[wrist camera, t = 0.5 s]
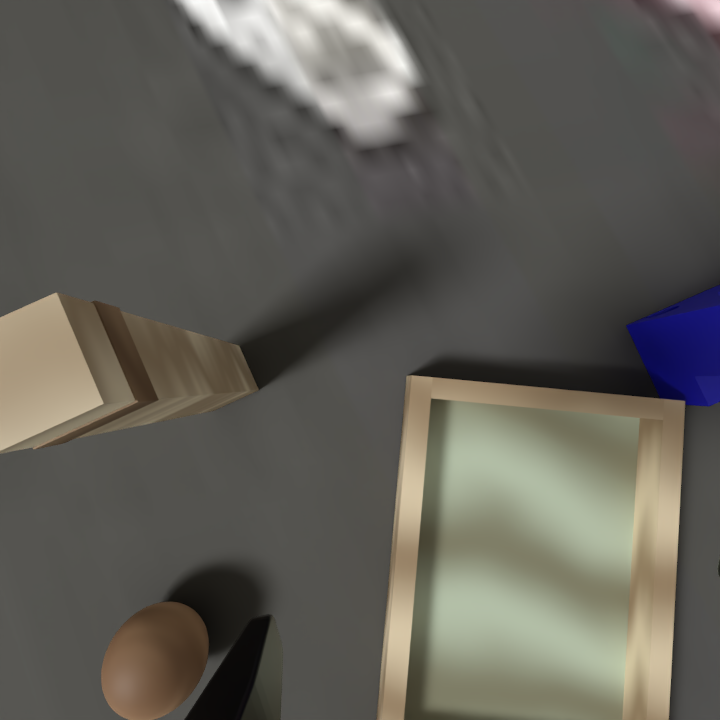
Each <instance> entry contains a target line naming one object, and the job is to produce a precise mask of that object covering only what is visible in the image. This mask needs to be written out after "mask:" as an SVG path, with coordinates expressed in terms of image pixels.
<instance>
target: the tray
mask: <svg viewBox="0 0 720 720" xmlns="http://www.w3.org/2000/svg"><path fill="white" fill-rule="evenodd" d="M684 417H685V401H680V400H669V399H659V398H648V397H637V396H627V395H616V394H605V393H595V392H584V391H573V390H563V389H552V388H541V387H531V386H520V385H509V384H499V383H488V382H477V381H467V380H456V379H445V378H435V377H424V376H413V375H411V376H407V377H406V388H405V400H404V411H403V423H402V434H401V445H400V457H399V468H398V480H397V491H396V502H395V514H394V525H393V537H392V548H391V559H390V571H389V582H388V594H387V605H386V616H385V628H384V639H383V651H382V662H381V673H380V685H379V696H378V708H377V719H376V720H669V706H670V686H671V667H672V648H673V629H674V609H675V590H676V571H677V552H678V532H679V513H680V494H681V475H682V455H683V436H684Z"/></svg>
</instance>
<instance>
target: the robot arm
mask: <svg viewBox="0 0 720 720" xmlns="http://www.w3.org/2000/svg"><path fill="white" fill-rule="evenodd" d="M718 574H719V577H720V558H719V564H718ZM282 669H283V648H282V642H281V639H280V636H279V632H278V629H277V625H276V622H275V619H274V617H273V616H272V615H269V614H268V615H262V616H256V617H253V618H252V619H250V621H249V622H248V623H247V625H246V626H245V628H244V629H243V631H242V633H241V634H240V636H239V637H238V639H237V640H236V642H235V643H234V645H233V646H232V648H231V649H230V651H229V652H228V654H227V655H226V657H225V658H224V660H223V662H222V663H221V665H220V666H219V668H218V669H217V671H216V672H215V674H214V675H213V677H212V678H211V680H210V681H209V683H208V684H207V686H206V688H205V689H204V691H203V692H202V694H201V695H200V697H199V698H198V700H197V701H196V703H195V704H194V706H193V707H192V709H191V710H190V712H189V714H188V715H187V717H186V718H185V720H280V718H281V693H282Z"/></svg>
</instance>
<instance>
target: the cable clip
mask: <svg viewBox="0 0 720 720" xmlns="http://www.w3.org/2000/svg"><path fill="white" fill-rule="evenodd" d="M626 326H627V328H628V331H629V333H630V335H631V337H632V339H633V341H634V343H635V346H636V348H637V350H638V352H639V354H640V356H641V358H642V360H643V363H644V365H645V367H646V369H647V371H648V373H649V375H650V377H651V380H652V382H653V384H654V386H655V388H656V390H657V392H658V394H659V397H660V399H669V400H680V401H685V405H697V406H711V405H713V404H715V403H718V402H720V285H718V286H716V287H713V288H711V289H709V290H706V291H704V292H702V293H699V294H697V295H695V296H693V297H690V298H688V299H686V300H683V301H681V302H679V303H677V304H674V305H672V306H670V307H667V308H665V309H663V310H660V311H658V312H656V313H654V314H651V315H649V316H647V317H644V318H642V319H640V320H637V321H635V322H633V323H631V324H628V325H626Z"/></svg>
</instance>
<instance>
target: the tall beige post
mask: <svg viewBox="0 0 720 720" xmlns="http://www.w3.org/2000/svg"><path fill="white" fill-rule="evenodd" d="M258 390H259V389H258V387H257V385H256V383H255V380H254V378H253V376H252V374H251V371H250V369H249V367H248V365H247V362H246V360H245V358H244V356H243V353H242V351H241V349H240V347H239V345H235V344H232V343H228V342H225V341H221V340H218V339H215V338H211V337H208V336H204V335H201V334H197V333H194V332H191V331H187V330H184V329H180V328H177V327H173V326H170V325H167V324H163V323H160V322H156V321H153V320H149V319H146V318H143V317H139V316H136V315H132V314H129V313H125V312H122V311H120V309H119V308H118V307H114V306H111V305H108V304H105V303H101V302H98V301H93V302H88V301H84V300H81V299H77V298H74V297H71V296H67V295H64V294H60V293H57V292H56V293H54V294H52V295H50V296H47V297H45V298H43V299H41V300H39V301H36V302H34V303H32V304H30V305H27V306H25V307H23V308H21V309H18V310H16V311H14V312H12V313H9V314H7V315H5V316H3V317H1V318H0V454H1V453H6V452H11V451H16V450H21V449H26V448H31V447H33V449H39V448H44V447H48V446H53V445H58V444H63V443H66V442H68V441H70V440H72V439H76V438H81V437H86V436H91V435H96V434H101V433H106V432H111V431H116V430H120V429H125V428H130V427H135V426H140V425H145V424H150V423H155V422H160V421H165V420H170V419H175V418H180V417H185V416H190V415H195V414H200V413H205V412H210V411H214V410H216V409H219V408H221V407H223V406H225V405H227V404H230V403H232V402H234V401H236V400H238V399H240V398H243V397H245V396H247V395H249V394H251V393H254V392H256V391H258Z"/></svg>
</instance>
